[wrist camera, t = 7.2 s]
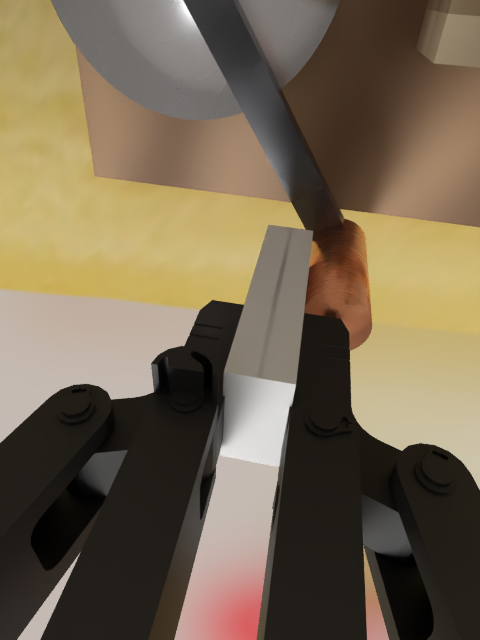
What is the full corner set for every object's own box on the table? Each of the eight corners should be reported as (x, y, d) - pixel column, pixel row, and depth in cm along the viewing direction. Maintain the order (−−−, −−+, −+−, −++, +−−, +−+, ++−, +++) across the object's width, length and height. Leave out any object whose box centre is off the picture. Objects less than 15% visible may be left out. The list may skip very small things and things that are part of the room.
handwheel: (253, 289, 19) (221, 389, 15) (-12, -120, 13) (-234, -189, 8) (468, 201, 15) (524, 297, 11) (249, -466, 9) (123, -1052, 4)
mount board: (110, 165, 19) (94, 176, 18) (47, -340, 11) (13, -377, 10) (595, 227, 17) (614, 245, 16) (950, -355, 9) (1041, -408, 8)
